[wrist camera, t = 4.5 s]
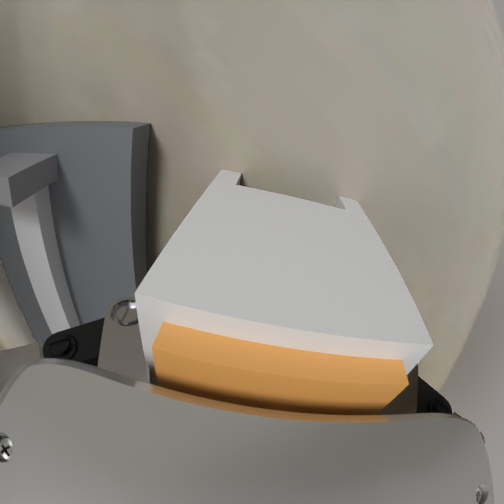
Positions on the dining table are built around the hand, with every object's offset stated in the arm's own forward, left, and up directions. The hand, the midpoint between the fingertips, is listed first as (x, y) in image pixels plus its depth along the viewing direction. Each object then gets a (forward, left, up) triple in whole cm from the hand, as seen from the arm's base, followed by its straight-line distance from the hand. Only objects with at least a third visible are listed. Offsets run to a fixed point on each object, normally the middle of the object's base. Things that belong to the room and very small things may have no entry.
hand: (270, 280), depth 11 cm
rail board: (+9, -12, -2) cm, 15 cm away
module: (0, 0, -2) cm, 2 cm away
